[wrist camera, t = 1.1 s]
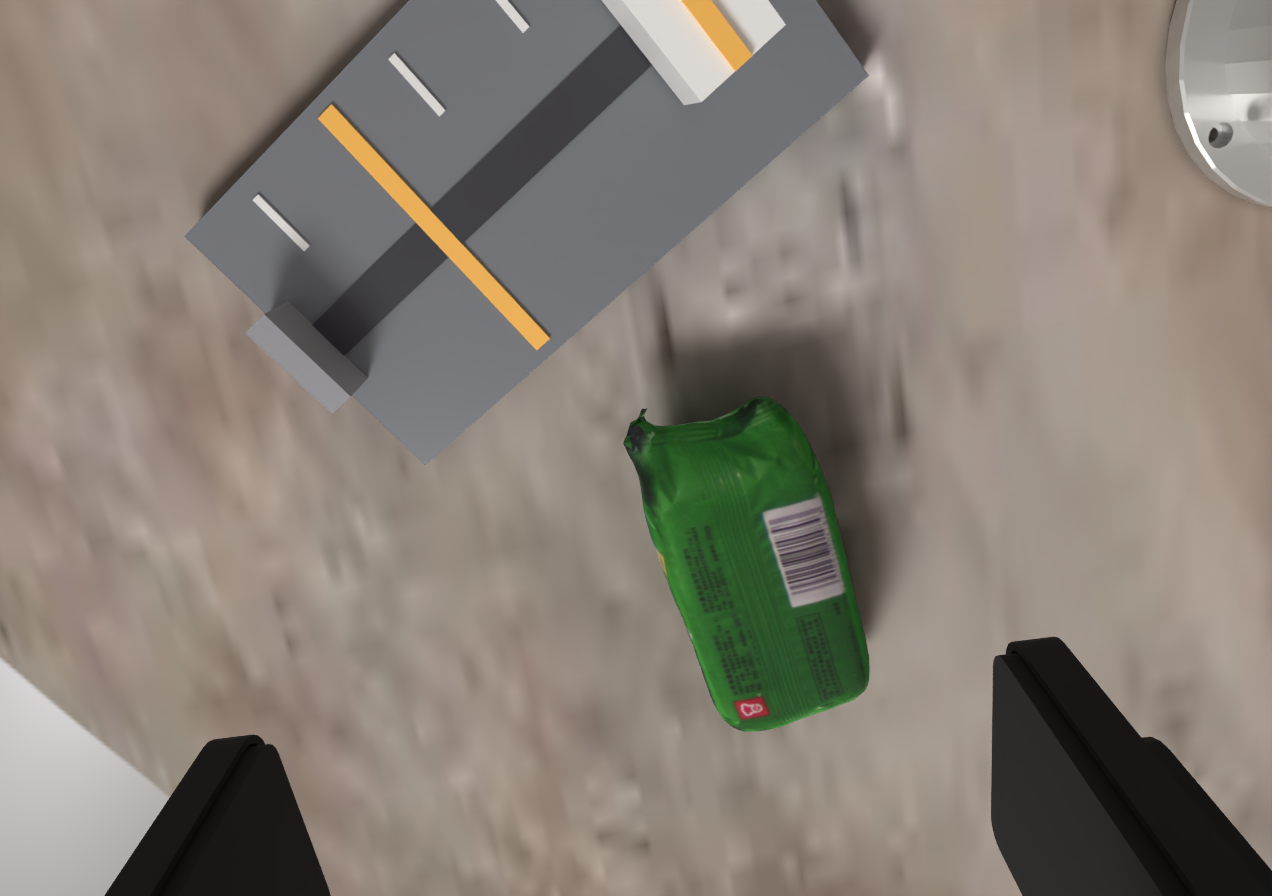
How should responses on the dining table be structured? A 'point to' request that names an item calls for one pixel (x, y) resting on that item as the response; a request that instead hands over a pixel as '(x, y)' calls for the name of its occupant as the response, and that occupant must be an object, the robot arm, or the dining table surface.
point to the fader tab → (697, 38)
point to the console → (491, 196)
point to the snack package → (753, 562)
